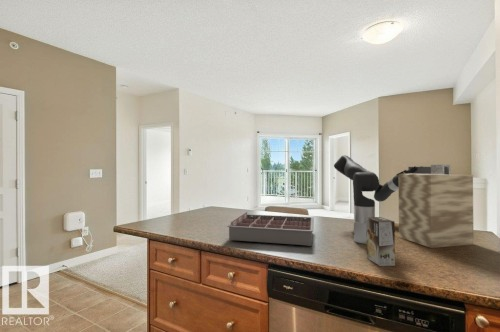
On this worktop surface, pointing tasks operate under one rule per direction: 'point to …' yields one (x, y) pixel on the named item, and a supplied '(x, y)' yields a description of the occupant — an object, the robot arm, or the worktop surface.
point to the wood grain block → (436, 209)
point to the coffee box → (380, 241)
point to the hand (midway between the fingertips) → (419, 167)
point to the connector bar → (433, 169)
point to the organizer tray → (272, 229)
